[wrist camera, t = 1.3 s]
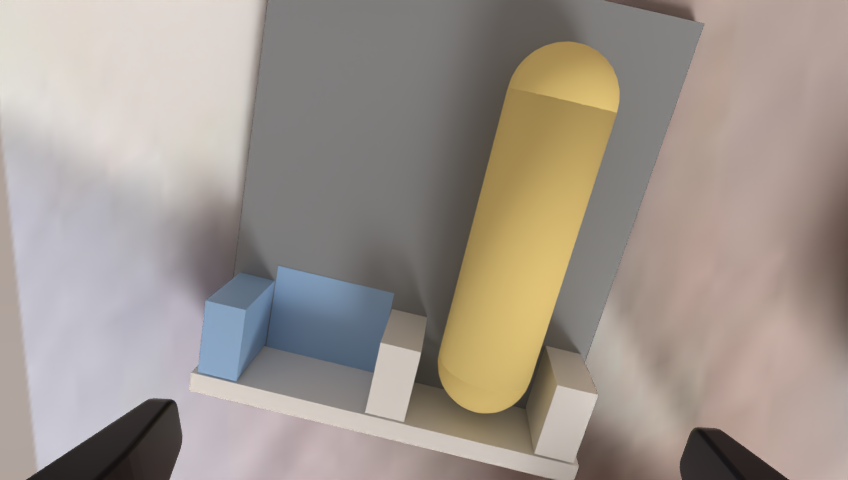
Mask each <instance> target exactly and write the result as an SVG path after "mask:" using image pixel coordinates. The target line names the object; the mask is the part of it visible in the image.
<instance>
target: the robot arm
mask: <svg viewBox="0 0 848 480" xmlns="http://www.w3.org/2000/svg"><path fill="white" fill-rule="evenodd" d="M181 445H182V430H181V425H180V419H179V413H178V407H177V404H176V402H175V401H174V400H171V399H157V398H153V399H148V400H146V401H145V402H143V403H142V404H140V405H139V406H137V407H136V408H134V409H133V410H131V411H130V412H128V413H126V414H125V415H123V416H122V417H120V418H119V419H117V420H116V421H114V422H113V423H111V424H110V425H108V426H107V427H105V428H104V429H102V430H101V431H99V432H98V433H96V434H95V435H93V436H92V437H90V438H89V439H87V440H86V441H84V442H83V443H81V444H80V445H78V446H77V447H75V448H73V449H72V450H70V451H69V452H67V453H66V454H64V455H63V456H61V457H60V458H58V459H57V460H55V461H54V462H52V463H51V464H49V465H48V466H46V467H45V468H43V469H42V470H40V471H39V472H37V473H36V474H34V475H33V476H31V477H30V478H28V479H27V480H169V479H170V477H171V474H172V471H173V468H174V466H175V463H176V460H177V457H178V454H179V452H180V449H181ZM680 473H681V477H682V480H789V479H787V478H786V477H785V476H783V475H782V474H780V473H779V472H778V471H776V470H775V469H774V468H772V467H771V466H770V465H768V464H767V463H765V462H764V461H763V460H761V459H760V458H759V457H757V456H756V455H755V454H753V453H752V452H750V451H749V450H748V449H746V448H745V447H744V446H742V445H741V444H739V443H738V442H737V441H735V440H734V439H733V438H731V437H730V436H729V435H727V434H726V433H724V432H723V431H721V430H720V429H716V428H703V427H697V428H694V429H693V430H692V431H691V433H690V436H689V438H688V441H687V444H686V446H685V449H684V452H683V455H682V457H681V461H680Z"/></svg>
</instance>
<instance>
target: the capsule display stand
mask: <svg viewBox="0 0 848 480" xmlns="http://www.w3.org/2000/svg"><path fill="white" fill-rule="evenodd" d="M704 24H705V23H700V22H696V21H692V20H687V19H683V18H678V17H674V16H670V15H665V14H661V13H657V12H652V11H648V10H644V9H639V8H635V7H631V6H626V5H622V4H618V3H613V2H609V1H605V0H268V2H267V10H266V18H265V26H264V34H263V42H262V51H261V59H260V67H259V75H258V83H257V91H256V99H255V107H254V115H253V123H252V131H251V139H250V147H249V155H248V163H247V171H246V180H245V188H244V196H243V204H242V212H241V220H240V228H239V236H238V244H237V252H236V260H235V268H234V276H233V279H231V280H230V281H229V282H228V283H226V284H225V285H224V286H223V287H221V288H220V289H219V290H218V291H217V292H215V293H214V294H213V295H212V296H210V297H209V298H208V299H207V300H206V301H205V310H204V319H203V328H202V337H201V347H200V356H199V365H198V366H197V367H196V368H195V369H194V370H193V371H192V372H191V378H190V388H189V391H192V392H197V393H201V394H205V395H209V396H213V397H217V398H221V399H225V400H229V401H234V402H238V403H242V404H246V405H250V406H254V407H258V408H262V409H266V410H270V411H275V412H279V413H283V414H287V415H291V416H295V417H299V418H303V419H307V420H312V421H316V422H320V423H324V424H328V425H332V426H336V427H340V428H344V429H349V430H353V431H357V432H361V433H365V434H369V435H373V436H377V437H381V438H385V439H390V440H394V441H398V442H402V443H406V444H410V445H414V446H418V447H422V448H427V449H431V450H435V451H439V452H443V453H447V454H451V455H455V456H459V457H464V458H468V459H472V460H476V461H480V462H484V463H488V464H492V465H496V466H500V467H505V468H509V469H513V470H517V471H521V472H525V473H529V474H533V475H537V476H542V477H546V478H550V479H554V480H574V479H575V476H576V474H577V471H578V468H579V465H578V462H577V458H576V455H577V452H578V449H579V446H580V444H581V441H582V438H583V436H584V433H585V430H586V428H587V425H588V422H589V419H590V417H591V414H592V411H593V409H594V406H595V403H596V400H597V398H598V393H597V390H596V388H595V386H594V383H593V381H592V379H591V376H590V374H589V372H588V369H587V367H586V365H585V360H586V357H587V355H588V352H589V349H590V346H591V343H592V340H593V338H594V335H595V332H596V329H597V326H598V323H599V321H600V318H601V315H602V312H603V309H604V307H605V304H606V301H607V298H608V295H609V292H610V290H611V287H612V284H613V281H614V278H615V275H616V273H617V270H618V267H619V264H620V261H621V258H622V256H623V253H624V250H625V247H626V244H627V241H628V239H629V236H630V233H631V230H632V227H633V224H634V222H635V219H636V216H637V213H638V210H639V208H640V205H641V202H642V199H643V196H644V193H645V191H646V188H647V185H648V182H649V179H650V176H651V174H652V171H653V168H654V165H655V162H656V159H657V157H658V154H659V151H660V148H661V145H662V142H663V140H664V137H665V134H666V131H667V128H668V125H669V123H670V120H671V117H672V114H673V111H674V109H675V106H676V103H677V100H678V97H679V94H680V92H681V89H682V86H683V83H684V80H685V77H686V75H687V72H688V69H689V66H690V63H691V60H692V58H693V55H694V52H695V49H696V46H697V43H698V41H699V38H700V35H701V32H702V29H703V26H704ZM568 41H569V42H576V43H581V44H585V45H587V46H589V47H591V48H593V49H595V50H597V51H598V52H599V53H600V54H602V55H603V56H604V57H605V58H606V59H607V60H608V62H609V63H610V65H611V66H612V67H613V69H614V72H615V74H616V77H617V79H618V85H619V90H620V95H619V106H618V110H617V115H616V118H615V121H614V124H613V127H612V130H611V133H610V136H609V140H608V143H607V146H606V149H605V152H604V155H603V158H602V161H601V164H600V167H599V170H598V174H597V177H596V180H595V183H594V186H593V189H592V192H591V195H590V198H589V201H588V205H587V208H586V211H585V214H584V217H583V220H582V223H581V226H580V229H579V232H578V236H577V239H576V242H575V245H574V248H573V251H572V254H571V257H570V260H569V263H568V266H567V270H566V273H565V276H564V279H563V282H562V285H561V288H560V291H559V294H558V297H557V301H556V304H555V307H554V310H553V313H552V316H551V319H550V322H549V325H548V328H547V331H546V335H545V338H544V341H543V344H542V347H541V350H540V353H539V356H538V359H537V362H536V366H535V369H534V372H533V375H532V378H531V381H530V383H529V385H528V388H527V390H526V392H525V393H524V394H523V396H522V397H521V398H520V399H519V400H518V401H517V402H516V403H515V404H513V405H512V406H511V407H509V408H507V409H505V410H502V411H500V412H496V413H477V412H473V411H470V410H467V409H465V408H463V407H462V406H460V405H459V404H457V403H456V402H455V401H454V400H453V399H452V398H451V397H450V396H449V395H448V393H447V392H446V390H445V389H444V387H443V385H442V383H441V380H440V376H439V371H438V356H439V351H440V347H441V343H442V339H443V335H444V331H445V327H446V324H447V320H448V316H449V312H450V308H451V304H452V300H453V297H454V293H455V289H456V285H457V281H458V277H459V273H460V270H461V266H462V262H463V258H464V254H465V250H466V247H467V243H468V239H469V235H470V231H471V227H472V223H473V220H474V216H475V212H476V208H477V204H478V200H479V196H480V193H481V189H482V185H483V181H484V177H485V173H486V169H487V166H488V162H489V158H490V154H491V150H492V146H493V142H494V139H495V135H496V131H497V127H498V123H499V119H500V115H501V112H502V108H503V104H504V100H505V96H506V92H507V89H508V86H509V83H510V80H511V77H512V75H513V74H514V72H515V70H516V69H517V67H518V66H519V65H520V64H521V62H522V61H523V60H524V59H525V58H526V57H527V56H529V55H530V54H531V53H532V52H534V51H535V50H537V49H539V48H541V47H543V46H546V45H549V44H552V43H556V42H568Z"/></svg>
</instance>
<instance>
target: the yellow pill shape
mask: <svg viewBox="0 0 848 480" xmlns="http://www.w3.org/2000/svg"><path fill="white" fill-rule="evenodd" d="M619 95H620V90H619V85H618V79H617V77H616V74H615V72H614V69H613V67H612V66H611V65H610V63H609V62H608V60H607V59H606V58H605V57H604V56H603V55H602V54H600V53H599V52H598V51H597V50H595V49H593V48H591V47H589V46H587V45H585V44H581V43H576V42H569V41H568V42H556V43H552V44H549V45H546V46H543V47H541V48H539V49H537V50H535V51H534V52H532V53H531V54H530V55H529V56H527V57H526V58H525V59H524V60H523V61H522V62H521V64H520V65H519V66H518V67H517V69H516V70H515V72H514V74H513V75H512V77H511V80H510V83H509V86H508V89H507V92H506V96H505V100H504V104H503V108H502V112H501V115H500V119H499V123H498V127H497V131H496V135H495V139H494V142H493V146H492V150H491V154H490V158H489V162H488V166H487V169H486V173H485V177H484V181H483V185H482V189H481V193H480V196H479V200H478V204H477V208H476V212H475V216H474V220H473V223H472V227H471V231H470V235H469V239H468V243H467V247H466V250H465V254H464V258H463V262H462V266H461V270H460V273H459V277H458V281H457V285H456V289H455V293H454V297H453V300H452V304H451V308H450V312H449V316H448V320H447V324H446V327H445V331H444V335H443V339H442V343H441V347H440V351H439V356H438V371H439V376H440V380H441V383H442V385H443V387H444V389H445V390H446V392H447V393H448V395H449V396H450V397H451V398H452V399H453V400H454V401H455V402H456V403H457V404H459V405H460V406H462V407H463V408H465V409H467V410H470V411H473V412H477V413H496V412H500V411H502V410H505V409H507V408H509V407H511V406H512V405H513V404H515V403H516V402H517V401H518V400H519V399H520V398H521V397H522V396H523V394H524V393H525V392H526V390H527V388H528V385H529V383H530V381H531V378H532V375H533V372H534V369H535V366H536V362H537V359H538V356H539V353H540V350H541V347H542V344H543V341H544V338H545V335H546V331H547V328H548V325H549V322H550V319H551V316H552V313H553V310H554V307H555V304H556V301H557V297H558V294H559V291H560V288H561V285H562V282H563V279H564V276H565V273H566V270H567V266H568V263H569V260H570V257H571V254H572V251H573V248H574V245H575V242H576V239H577V236H578V232H579V229H580V226H581V223H582V220H583V217H584V214H585V211H586V208H587V205H588V201H589V198H590V195H591V192H592V189H593V186H594V183H595V180H596V177H597V174H598V170H599V167H600V164H601V161H602V158H603V155H604V152H605V149H606V146H607V143H608V140H609V136H610V133H611V130H612V127H613V124H614V121H615V118H616V115H617V110H618V106H619Z"/></svg>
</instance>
